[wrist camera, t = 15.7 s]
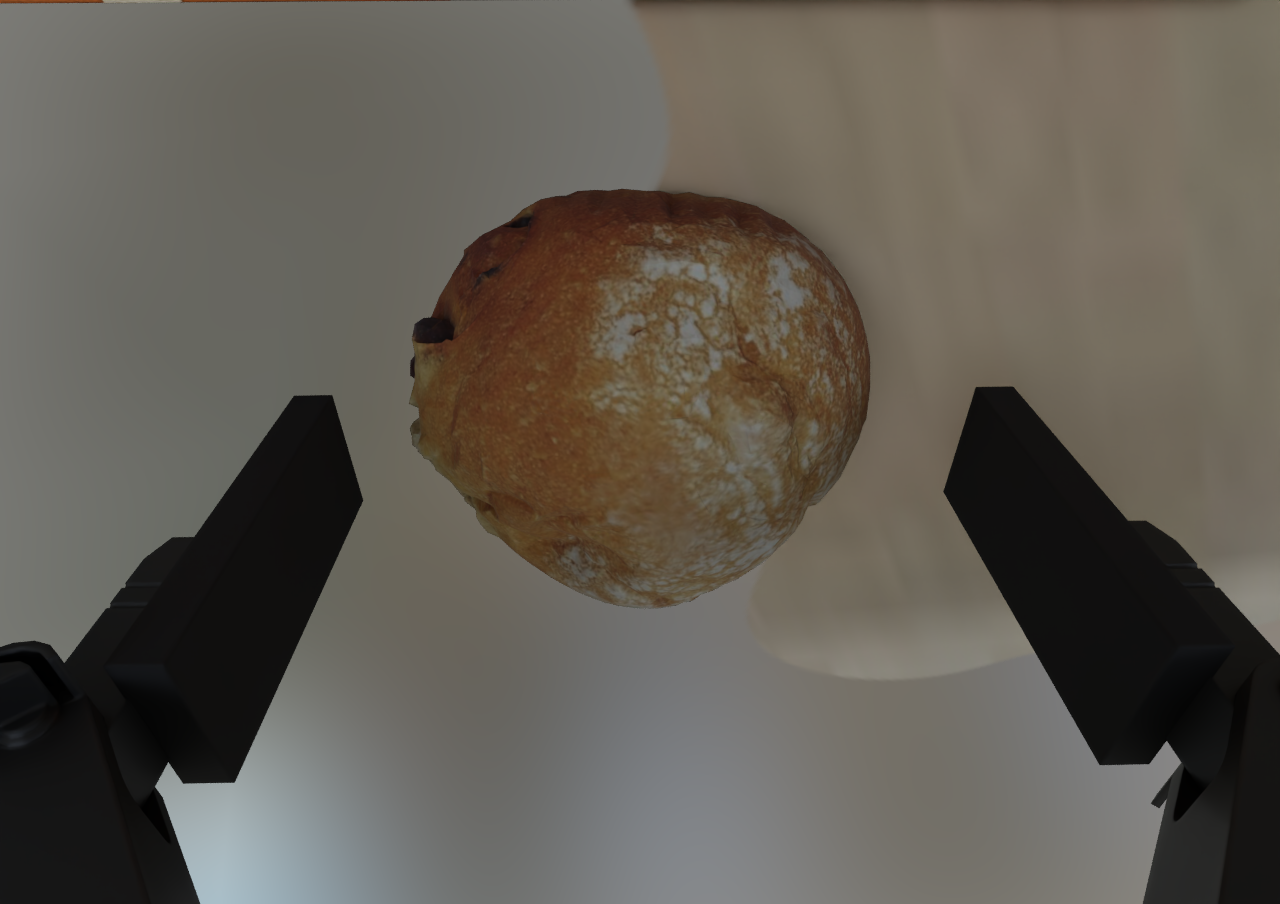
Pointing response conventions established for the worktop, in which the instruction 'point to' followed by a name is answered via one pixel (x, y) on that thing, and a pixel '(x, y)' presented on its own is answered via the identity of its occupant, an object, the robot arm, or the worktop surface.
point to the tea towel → (170, 1)
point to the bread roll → (641, 388)
